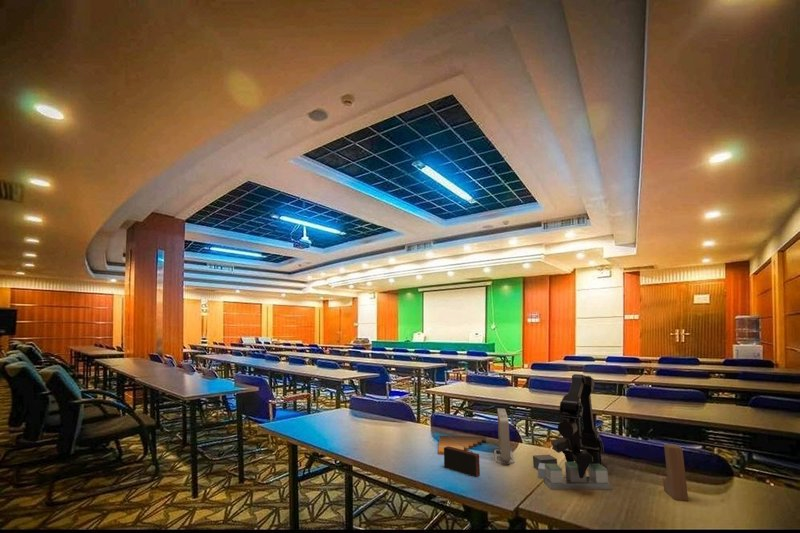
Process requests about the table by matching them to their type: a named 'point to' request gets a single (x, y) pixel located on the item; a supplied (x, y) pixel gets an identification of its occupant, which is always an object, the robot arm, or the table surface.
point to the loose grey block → (543, 460)
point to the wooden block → (675, 473)
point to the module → (573, 472)
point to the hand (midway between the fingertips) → (575, 473)
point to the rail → (594, 481)
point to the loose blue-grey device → (541, 470)
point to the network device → (503, 439)
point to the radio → (461, 460)
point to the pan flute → (463, 440)
